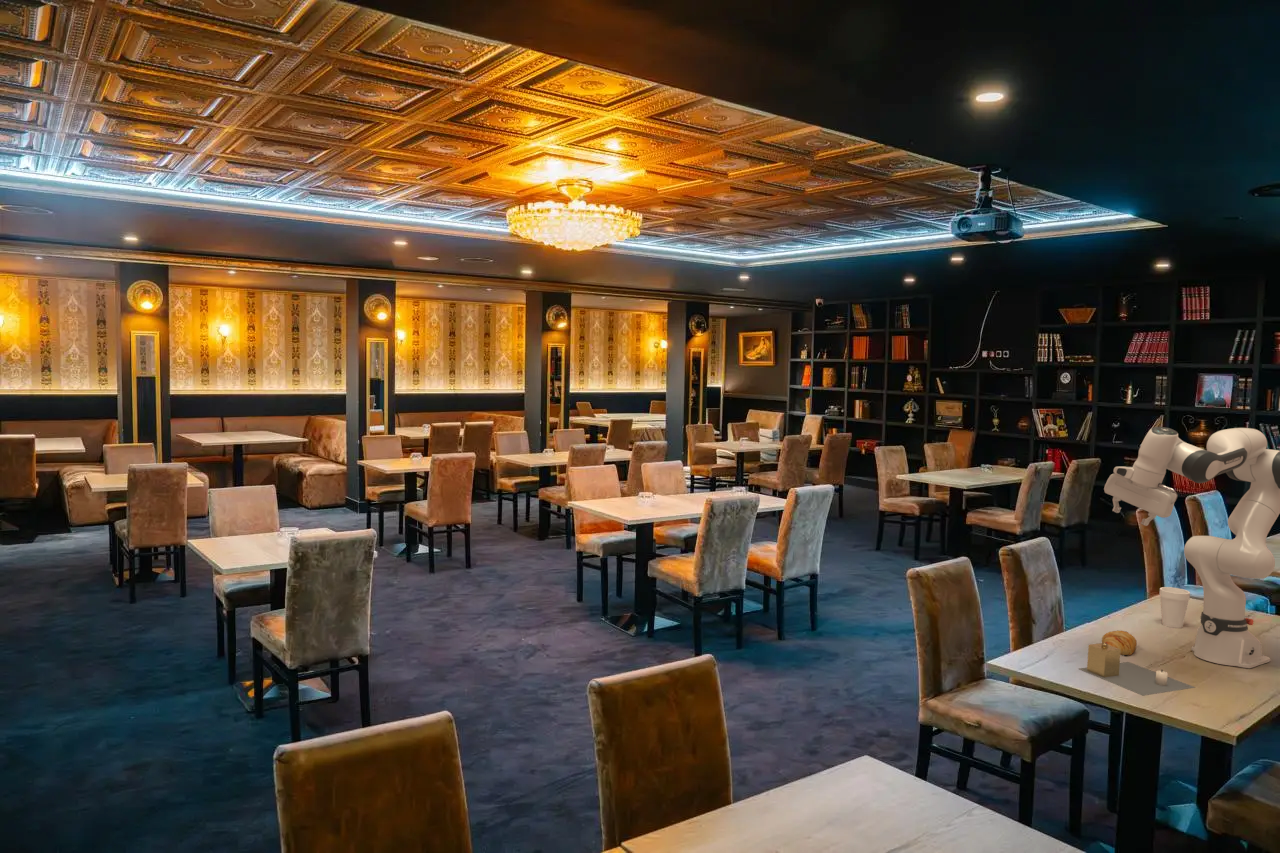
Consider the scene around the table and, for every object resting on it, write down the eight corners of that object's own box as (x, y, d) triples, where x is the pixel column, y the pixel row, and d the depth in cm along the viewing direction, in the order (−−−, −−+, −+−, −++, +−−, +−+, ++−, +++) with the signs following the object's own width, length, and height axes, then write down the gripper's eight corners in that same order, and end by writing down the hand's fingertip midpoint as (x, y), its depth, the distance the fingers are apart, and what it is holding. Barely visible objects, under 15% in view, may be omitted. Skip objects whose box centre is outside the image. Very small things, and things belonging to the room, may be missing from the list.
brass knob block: (1101, 668, 258) (1103, 639, 257) (1118, 675, 252) (1120, 645, 252) (1086, 670, 256) (1088, 641, 255) (1103, 677, 250) (1105, 647, 250)
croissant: (1112, 670, 269) (1126, 652, 266) (1084, 648, 276) (1097, 630, 272) (1139, 655, 282) (1153, 638, 279) (1112, 635, 289) (1125, 617, 285)
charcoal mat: (1128, 664, 265) (1128, 661, 265) (1195, 690, 244) (1195, 687, 244) (1077, 671, 257) (1077, 668, 257) (1142, 698, 237) (1142, 695, 237)
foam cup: (1151, 622, 311) (1153, 587, 310) (1170, 620, 313) (1172, 586, 312) (1174, 630, 302) (1176, 594, 301) (1193, 628, 304) (1196, 593, 303)
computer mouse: (1160, 681, 248) (1161, 667, 248) (1168, 685, 245) (1170, 670, 245) (1153, 682, 247) (1154, 668, 247) (1162, 686, 244) (1163, 671, 244)
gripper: (1184, 491, 254) (1167, 532, 257) (1120, 465, 270) (1105, 504, 274) (1173, 491, 250) (1156, 533, 254) (1109, 465, 267) (1094, 505, 271)
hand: (1129, 518), depth 264 cm, fingers open, 8 cm apart
